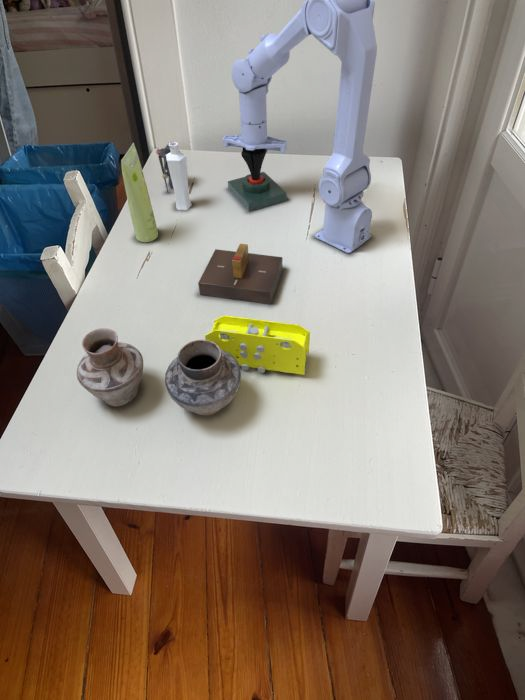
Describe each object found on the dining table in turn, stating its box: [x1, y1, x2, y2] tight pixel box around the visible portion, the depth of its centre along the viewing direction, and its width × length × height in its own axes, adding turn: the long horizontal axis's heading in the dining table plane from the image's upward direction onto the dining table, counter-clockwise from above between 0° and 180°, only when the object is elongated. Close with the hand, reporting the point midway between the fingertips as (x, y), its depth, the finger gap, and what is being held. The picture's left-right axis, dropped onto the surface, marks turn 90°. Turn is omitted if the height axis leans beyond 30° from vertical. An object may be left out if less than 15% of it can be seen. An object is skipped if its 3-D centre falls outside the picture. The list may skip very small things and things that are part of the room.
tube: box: [120, 142, 159, 243], centre depth 100 cm, size 6×5×20 cm
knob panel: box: [197, 248, 283, 305], centre depth 95 cm, size 14×11×3 cm
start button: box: [249, 175, 264, 184], centre depth 116 cm, size 4×4×2 cm
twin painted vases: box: [76, 327, 242, 416], centre depth 72 cm, size 11×25×12 cm, turn 82°
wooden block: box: [232, 243, 249, 278], centre depth 92 cm, size 6×2×4 cm, turn 166°
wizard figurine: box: [155, 141, 181, 193], centre depth 118 cm, size 8×6×12 cm
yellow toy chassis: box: [204, 314, 311, 376], centre depth 78 cm, size 16×6×8 cm, turn 78°
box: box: [227, 171, 287, 213], centre depth 117 cm, size 12×10×4 cm
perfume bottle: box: [166, 141, 192, 211], centre depth 111 cm, size 5×4×15 cm
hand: (256, 178), depth 115 cm, fingers closed, pressing on start button
